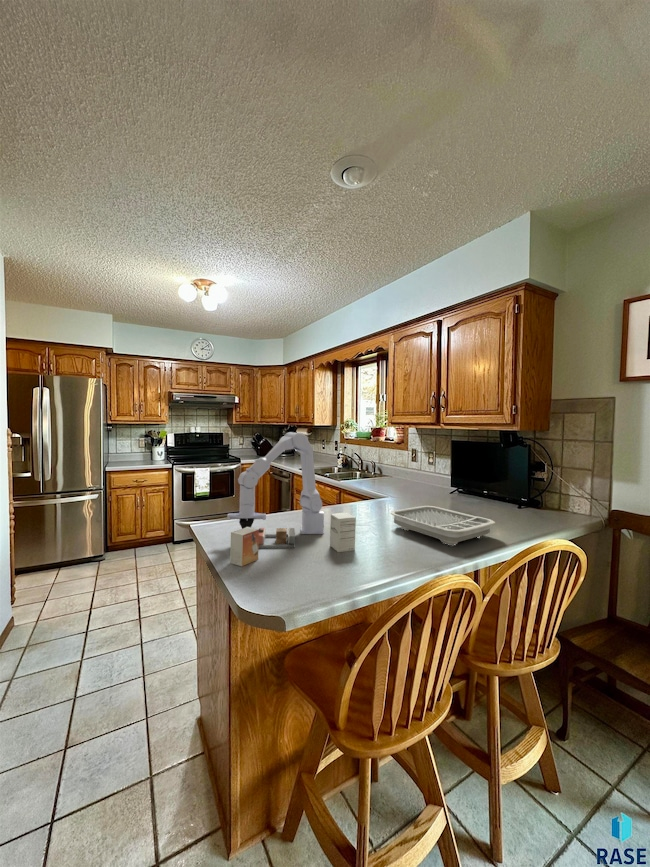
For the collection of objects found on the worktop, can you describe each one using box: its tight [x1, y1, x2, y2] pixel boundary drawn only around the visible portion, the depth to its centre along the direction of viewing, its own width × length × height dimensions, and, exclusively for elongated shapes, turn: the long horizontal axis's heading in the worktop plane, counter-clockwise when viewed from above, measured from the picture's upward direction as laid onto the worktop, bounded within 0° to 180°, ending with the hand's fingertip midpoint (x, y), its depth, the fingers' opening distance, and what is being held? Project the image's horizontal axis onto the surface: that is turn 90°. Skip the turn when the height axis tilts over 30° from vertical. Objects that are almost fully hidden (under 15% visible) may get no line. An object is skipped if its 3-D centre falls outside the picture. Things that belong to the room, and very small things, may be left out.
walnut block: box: [275, 527, 288, 545], centre depth 138 cm, size 4×4×5 cm
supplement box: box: [329, 512, 357, 553], centre depth 133 cm, size 7×7×13 cm
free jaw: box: [258, 527, 266, 545], centre depth 137 cm, size 2×10×5 cm, turn 6°
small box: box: [229, 526, 260, 567], centre depth 118 cm, size 8×6×10 cm
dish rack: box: [390, 505, 496, 545], centre depth 154 cm, size 32×37×8 cm
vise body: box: [258, 527, 296, 550], centre depth 137 cm, size 17×13×4 cm
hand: (246, 537), depth 136 cm, fingers closed
